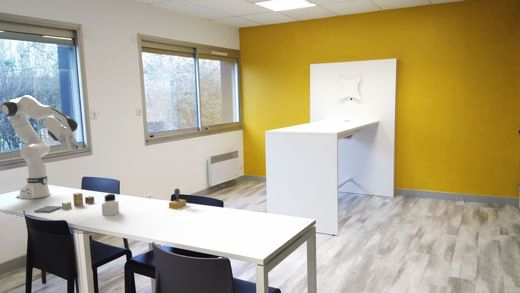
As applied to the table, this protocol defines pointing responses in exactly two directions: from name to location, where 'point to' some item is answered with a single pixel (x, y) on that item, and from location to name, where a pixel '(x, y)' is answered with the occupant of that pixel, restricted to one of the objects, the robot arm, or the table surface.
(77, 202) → the oak block
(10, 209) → the table surface
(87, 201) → the walnut cube
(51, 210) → the grey mat
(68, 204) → the sage cube
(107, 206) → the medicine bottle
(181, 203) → the rubber stamp
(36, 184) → the robot arm
